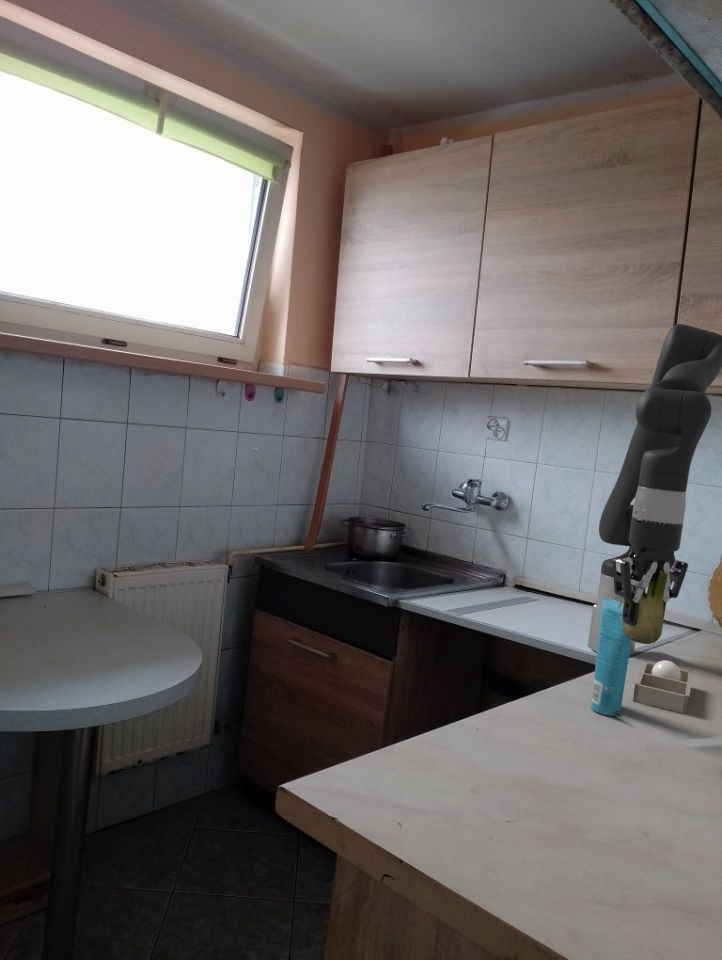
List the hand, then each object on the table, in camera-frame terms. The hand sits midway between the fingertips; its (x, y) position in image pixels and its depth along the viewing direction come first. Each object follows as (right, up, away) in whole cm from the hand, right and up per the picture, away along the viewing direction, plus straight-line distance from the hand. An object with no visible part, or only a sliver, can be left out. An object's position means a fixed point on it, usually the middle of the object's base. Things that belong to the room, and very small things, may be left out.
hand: (642, 623), depth 120 cm
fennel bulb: (0, -3, 0) cm, 3 cm away
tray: (+11, -18, +21) cm, 29 cm away
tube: (-2, -17, +11) cm, 21 cm away
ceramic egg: (+13, -17, +24) cm, 32 cm away
